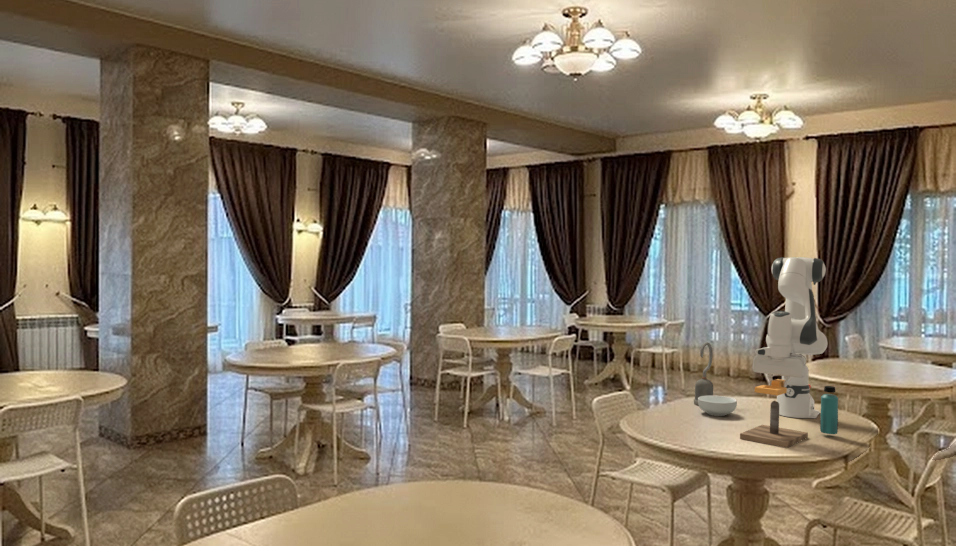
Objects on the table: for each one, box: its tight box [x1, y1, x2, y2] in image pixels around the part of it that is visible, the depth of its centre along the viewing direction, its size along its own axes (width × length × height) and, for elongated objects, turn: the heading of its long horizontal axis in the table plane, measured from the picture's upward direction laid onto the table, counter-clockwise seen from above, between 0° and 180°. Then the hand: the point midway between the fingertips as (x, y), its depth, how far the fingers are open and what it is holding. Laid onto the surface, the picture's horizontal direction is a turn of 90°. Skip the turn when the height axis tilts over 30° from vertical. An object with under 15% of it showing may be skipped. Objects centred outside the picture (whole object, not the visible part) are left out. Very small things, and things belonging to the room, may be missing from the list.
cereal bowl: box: [697, 395, 738, 417], centre depth 324 cm, size 17×17×7 cm
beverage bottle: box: [819, 385, 839, 435], centre depth 287 cm, size 6×7×20 cm
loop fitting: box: [754, 378, 787, 396], centre depth 285 cm, size 15×9×4 cm, turn 136°
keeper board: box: [739, 400, 809, 448], centre depth 282 cm, size 22×18×15 cm
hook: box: [693, 341, 714, 406], centre depth 346 cm, size 10×12×30 cm
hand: (778, 386), depth 288 cm, fingers closed on loop fitting, 3 cm apart
